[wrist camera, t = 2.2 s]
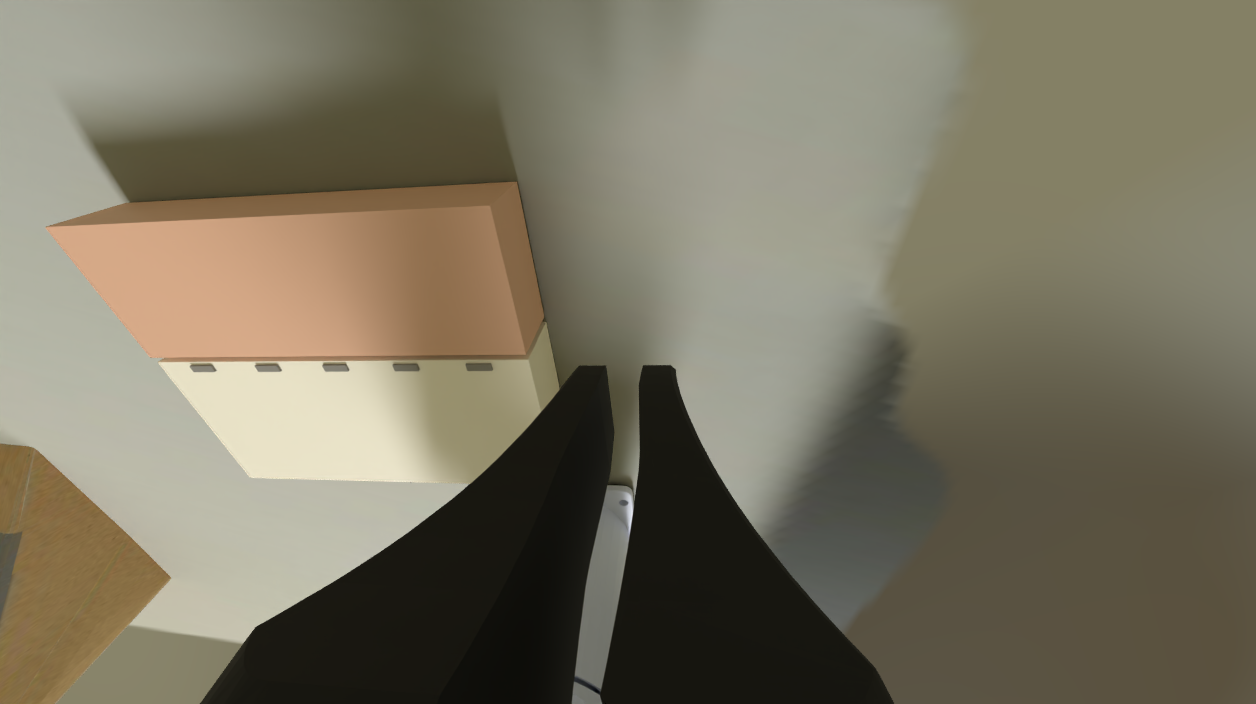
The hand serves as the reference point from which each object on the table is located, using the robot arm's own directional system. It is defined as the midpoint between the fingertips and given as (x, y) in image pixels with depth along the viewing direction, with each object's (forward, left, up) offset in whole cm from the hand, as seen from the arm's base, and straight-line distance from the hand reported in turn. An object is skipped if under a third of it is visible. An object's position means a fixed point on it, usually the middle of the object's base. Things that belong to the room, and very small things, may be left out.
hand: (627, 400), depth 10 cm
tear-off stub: (0, +13, -8) cm, 15 cm away
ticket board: (-6, +13, -8) cm, 16 cm away
